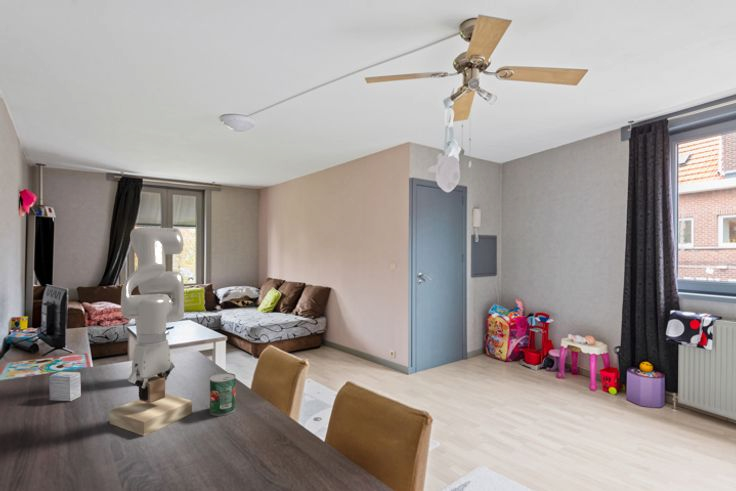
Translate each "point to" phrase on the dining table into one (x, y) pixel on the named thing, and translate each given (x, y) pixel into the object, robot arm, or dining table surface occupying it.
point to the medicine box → (65, 386)
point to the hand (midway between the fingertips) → (152, 395)
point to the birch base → (150, 414)
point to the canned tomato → (222, 394)
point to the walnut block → (155, 389)
